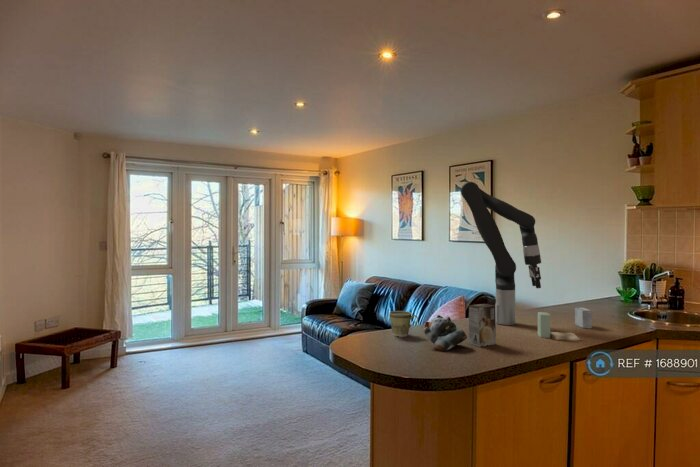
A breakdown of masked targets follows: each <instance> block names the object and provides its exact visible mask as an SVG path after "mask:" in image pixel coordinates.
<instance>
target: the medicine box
mask: <svg viewBox="0 0 700 467" xmlns="http://www.w3.org/2000/svg"><path fill="white" fill-rule="evenodd" d="M592 315H593V312H592V310H591V309H589V308H586V307H575V308H574V325H575V326H577V327H579V328H581V329H592V328H593V316H592Z"/></svg>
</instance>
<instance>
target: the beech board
mask: <svg viewBox="0 0 700 467" xmlns="http://www.w3.org/2000/svg"><path fill="white" fill-rule="evenodd" d="M550 338H551V339H552V340H553V339H554V340H556V341H557V340H558V341H573V342H574V341H575V342H576V341H577V342H578V341H579V342H581V341H582V339H581V338H580V337H579V336H577V335H576V334H575V333H573V332H560V331H558V332H557V331H550Z"/></svg>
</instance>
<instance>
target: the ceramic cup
mask: <svg viewBox="0 0 700 467" xmlns="http://www.w3.org/2000/svg"><path fill="white" fill-rule="evenodd" d="M414 317H415V318H416V321H414V322H413V323H411V320H412V319H413V318H414ZM418 320H419V317H418V316H417V315H414V314H412V312H411V311H406V310H393V311H389V321H390V325H391V332H392V335H393V336H394V337H397V336H399V338H404V337H408V336H409V331H410V328H411V327H412V326H413V325H414V324H416V323H417V322H418Z"/></svg>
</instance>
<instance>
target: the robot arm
mask: <svg viewBox="0 0 700 467" xmlns="http://www.w3.org/2000/svg"><path fill="white" fill-rule="evenodd" d="M460 194H461V196H462V197H463V199H464V201H465V203H467V206H468V207H469V209H470V211H471V214H472V217H473V219H474V220H473V221H474V224H475V226H476V229H477V230H478V233H479V235H480V237H481V239H482V241H483V242H484V244H485V245H486V246H487V248H488V249H489V251H490V253H491V255H492V257H493V259H494V262H495V268H494V269H495V272H494V274H495V275H494V277H495V281H494V282H495V304H494V306H495V324H497V325H503V326H504V325H505V326H510V325H511V326H513V325H516V282H515V280H516V279H515V273H516V271H517V265H516V262H515V261H514V259H513V257H512V256H511V254H510V252H509V251H508V249H507V248H506V245H505V243H504V239H503V237H502V234H501V232H500V229H499V227H498V225H497V223H496V221H495V219H494V217H493V215H492V214H491V212H490V211H492V212H494V213H495V214H497V215H498V216H501V217H503V218H504V219H506V220H508V221H512V222H514V223H515V224H517V225H518V227H519V230H520V234H521V243H522V253H523V259H524V264H525V266H526V265H528V272H529V278H530V279H531V285H532V287H535V288H536V289H541V288H542V285H541V280H542V276H541V270H540V267H539V266H538V265H539V264H542V258H541V257H542V256H541V251H540V246H539V244H538V243H539V242H538V237H537V234H536V232H535V231H536V230H535V224H536V218H535V217H534V216H533V215H531V214H530V213H528V212H525V211H523V210H520V209H518V208H517V207H515V206H513V205H511V204H509V203H508V202H506V201H504V200H501V199H499V198H497V197H494V196H493V195H490V194H488V193H487V192H485V191H484V190H483V189H481V187H480V186H479V185H478V184H477V183H476V182H473V181H467V182H464V183H463V184H462V186H461V188H460Z"/></svg>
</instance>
